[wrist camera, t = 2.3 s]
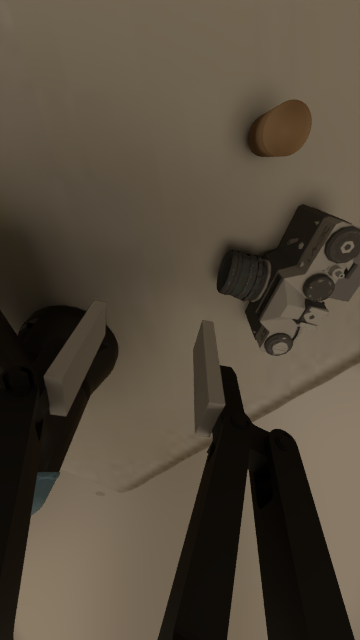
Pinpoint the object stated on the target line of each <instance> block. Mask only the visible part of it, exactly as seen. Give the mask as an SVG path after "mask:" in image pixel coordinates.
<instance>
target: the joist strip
mask: <svg viewBox="0 0 360 640" xmlns="http://www.w3.org/2000/svg"><path fill="white" fill-rule="evenodd" d="M353 262H354V263H355V264H357V265H358V266H357V268H356V269H355V271H354V272H353V273H352V275H351V276H350V277H349V279H346V278H344V277H343V278H342V279H340V278H339V279H338V280H337V282H336V283H335V289H334V291H333V293H332V294H331V295H330V296H329V297H328V298H333V299H338V300H343V301H349V300H350V298H351V297H352V295H353V294H354V293H355V291H356V290H357V288H358V287H359V285H360V254H359V255H358V256H357V257H355V258H354V259H353Z"/></svg>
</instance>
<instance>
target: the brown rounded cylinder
mask: <svg viewBox="0 0 360 640" xmlns="http://www.w3.org/2000/svg"><path fill="white" fill-rule="evenodd" d="M311 123H312V119H311V113H310V110H309V108H308V107H307V105H306V104H305V103H303V102H302V101H299V100H289V101H286V102H284V103H282V104H280V105H279V106H277V107H275V108H274V109H272V110H270V111H268V112H267V113H265V114H263V115H262V116H260V117H259V118H258V119H257V120H256V121H255V122H254V123H253V125H252V127H251V129H250V132H249V137H248V142H249V146H250V149H251V151H252V152H253V153H254V154H255V155H257V156H260V157H275V156H288V155H291V154H293V153H295V152H296V151H298V150H299V149H300V148H301V147H302V146H303V144H304V143H305V141H306V140H307V138H308V136H309V133H310V130H311Z"/></svg>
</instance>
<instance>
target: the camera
mask: <svg viewBox="0 0 360 640" xmlns="http://www.w3.org/2000/svg"><path fill="white" fill-rule="evenodd" d="M359 254H360V228H359V227H357V226H354V225H352V224H351V223H349V222H347V221H345V220H342V219H340V218H338V217H335V216H333V215H330V214H328V213H325V212H323V211H320V210H318V209H315V208H312V207H309V206H306V205H301V206H299V207H298V209H297V211H296V213H295V215H294V217H293V219H292V221H291V223H290V225H289V227H288V229H287V231H286V233H285V235H284V237H283V239H282V241H281V243H280V244H279V246H278V248H277V249H276V250H274V251H272V252H270V253H268V254H266V255H265V256H264V257H263V258H261V257H260V256H256V255H254V256H253V255H250V254H247V255H246V254H242V253H241V252H239V251H234V250H232V251H229V252H228V253H227V254H226V256H225V258H224V260H223V262H222V265H221V268H220V271H219V274H218V279H217V290H218V292H219V293H221V294H224V295H231V296H233V297H235V298H238V299H240V300H242V301H247V300H248V299H249V300H250V303H249V305H248V307H247V309H246V311H245V313H246V316H247V319H248V321H249V324H250V327H251V330H252V332H253V335H254V338H255V340H257V342H258V345H259V347H260V350H261V351H262V352H267V353H268V354H270V355H275V356H278V355H283V354H286V353H287V352H288V351H289V350H290V349H291V348H292V346H293V343H294V341H295V340H296V339H297V337H298V336H299V334H300V333H301V332H302V330H303V329H304V327H306V328H311V329H315V330H316V329H317V328H318V326H317V325H318V323H319V322H320V321H321V319H322V318H323V317H324V315H326V316H327V315H328V313H329V311H328V309H326V307H325V305H324V304H325V303H324V302H323V300H325V299H327V298H328V297H329V296H330V295H331V294H332V293H333V291H334V289H335V283H336V282H337V280H338V279H339V278H340V279H342V278H343V277H344V278H346V279H349V277H350V276H351V275H352V273H353V272H354V271H355V269H356V268H357V266H358V265H357V264H355V263H354V262H353V259H354V258H355V257H357V256H358V255H359Z"/></svg>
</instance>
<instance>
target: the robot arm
mask: <svg viewBox="0 0 360 640" xmlns="http://www.w3.org/2000/svg"><path fill="white" fill-rule="evenodd" d="M117 357H118V345H117V341H116V339H115V337H114V335H113V333H112V332H111V331H110V329H109V328H108V327H107V326H106V302H103V301H97V300H94V302H93V303H92V305H91V306H90V308H89V309H88V311H87V312H85V311H83V310H80V309H77V308H73V307H67V306H51V307H47V308H43V309H41V310H39V311H37V312H35V313H34V314H33V315H32V316H31V317H30V318H29V319H28V320H27V321H26V322H25V323H24V324H23V325H22V327H21V329H20V331H19V333H18V336H17V334H16V333H15V331H14V330H13V328H12V327H11V325H10V324H9V322H8V321H7V319H6V318H5V316H4V315H3V313H2V312H1V310H0V640H13V632H14V623H15V616H16V609H17V603H18V596H19V590H20V583H21V576H22V570H23V563H24V557H25V551H26V543H27V538H28V531H29V524H30V518H31V515H33V514H34V513H35V512H37V511H38V510H39V509H40V508H41V507H42V505H43V504H44V502H45V501H46V498H47V497H48V495H49V493H50V491H51V489H52V487H53V485H54V483H55V481H56V479H57V478H58V477H59V475H60V472H59V471H60V468H61V466H62V463H63V461H64V458H65V456H66V453H67V451H68V449H69V446H70V444H71V441H72V439H73V436H74V434H75V432H76V429H77V427H78V424H79V422H80V419H81V417H82V415H83V412H84V410H85V407H86V405H87V402H88V400H89V398H90V395H91V394H92V393H93V392H94V391H95V390H96V389H97V388H98V386H99V385H100V384H101V383H102V382H103V381H104V380H105V379H106V378H107V377H108V375H109V374H110V373H111V371H112V370H113V368H114V365H115V363H116V360H117ZM193 363H194V411H195V435H199V436H205V437H210V435H211V433H212V434H213V441H212V443H211V445H210V447H209V449H208V451H207V453H208V456H207V460H206V464H205V468H204V471H203V475H202V479H201V483H200V486H199V490H198V493H197V497H196V501H195V504H194V508H193V512H192V515H191V519H190V523H189V526H188V530H187V534H186V538H185V541H184V545H183V548H182V552H181V556H180V559H179V563H178V567H177V570H176V574H175V578H174V582H173V585H172V589H171V593H170V596H169V600H168V604H167V607H166V611H165V615H164V619H163V622H162V626H161V629H160V633H159V637H158V640H227V634H228V626H229V618H230V609H231V601H232V592H233V585H234V576H235V568H236V560H237V552H238V543H239V534H240V527H241V518H242V510H243V502H244V493H245V486H246V477H247V469H248V470H249V475H250V484H251V493H252V502H253V510H254V519H255V528H256V536H257V545H258V555H259V564H260V572H261V582H262V590H263V599H264V608H265V616H266V626H267V635H268V640H355V639H354V636H353V632H352V629H351V626H350V622H349V619H348V615H347V612H346V609H345V605H344V602H343V598H342V595H341V592H340V588H339V585H338V582H337V578H336V575H335V571H334V568H333V565H332V561H331V558H330V554H329V551H328V548H327V544H326V541H325V537H324V534H323V531H322V527H321V524H320V521H319V517H318V514H317V510H316V507H315V504H314V500H313V497H312V494H311V490H310V487H309V483H308V480H307V477H306V473H305V470H304V466H303V463H302V460H301V457H300V453H299V449H298V446H297V444H296V442H295V440H294V439H293V437H292V436H291V435H290V434H288V433H287V432H286V431H283V430H281V429H274V430H272V431H271V432H268V431H265V430H263V429H261V428H259V427H257V426H255V425H254V424H253V423H252V422H251V420H250V418H249V417H248V416H247V415H246V414H245V412H244V409H243V404H242V399H241V395H240V390H239V386H238V381H237V376H236V374H235V372H234V371H233V369H232V368H231V367H227V366H221V365H219V358H218V351H217V344H216V337H215V331H214V324H213V322H210V321H205V320H202V323H201V326H200V329H199V333H198V336H197V339H196V342H195V346H194V349H193Z"/></svg>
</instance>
